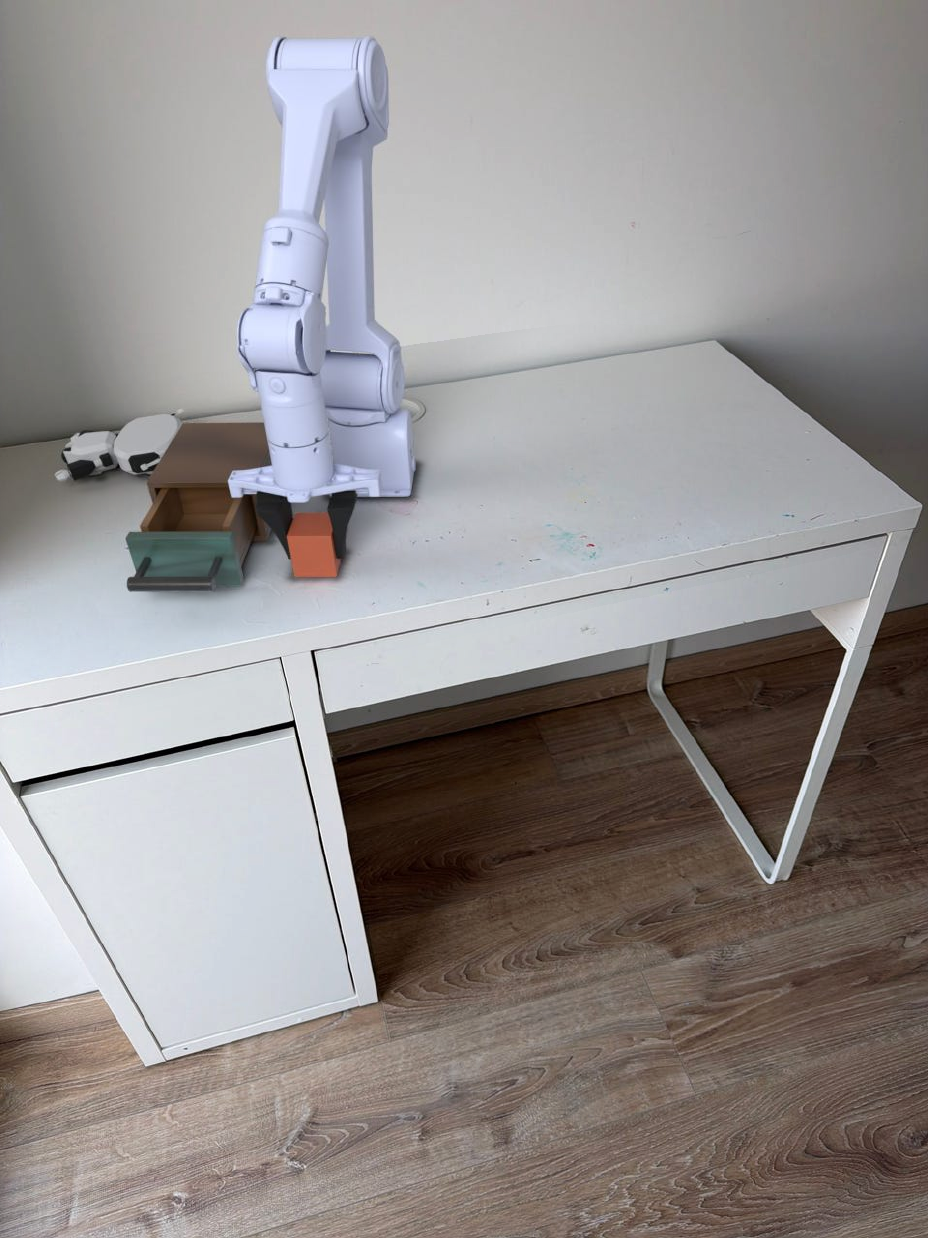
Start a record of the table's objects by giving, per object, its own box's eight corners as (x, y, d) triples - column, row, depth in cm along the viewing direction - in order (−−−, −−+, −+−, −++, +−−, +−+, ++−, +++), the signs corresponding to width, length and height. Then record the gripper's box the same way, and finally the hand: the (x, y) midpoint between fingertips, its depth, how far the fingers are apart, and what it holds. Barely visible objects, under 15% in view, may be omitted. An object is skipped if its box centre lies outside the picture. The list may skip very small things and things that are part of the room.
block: (342, 552, 93) (337, 512, 90) (337, 577, 90) (330, 536, 87) (301, 552, 93) (294, 512, 90) (294, 577, 90) (286, 536, 87)
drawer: (229, 615, 84) (217, 566, 80) (124, 615, 84) (108, 567, 81) (266, 518, 97) (257, 472, 94) (175, 518, 98) (163, 473, 94)
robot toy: (60, 503, 104) (187, 482, 105) (44, 469, 101) (175, 448, 102) (80, 453, 114) (196, 435, 114) (66, 421, 111) (185, 402, 111)
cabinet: (267, 541, 95) (255, 481, 91) (163, 541, 96) (146, 482, 91) (290, 478, 106) (280, 421, 101) (196, 479, 106) (182, 422, 101)
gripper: (209, 455, 79) (238, 576, 88) (370, 453, 79) (382, 576, 87) (228, 419, 85) (253, 537, 93) (378, 417, 84) (390, 536, 93)
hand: (316, 553), depth 91 cm, fingers closed on block, 4 cm apart
